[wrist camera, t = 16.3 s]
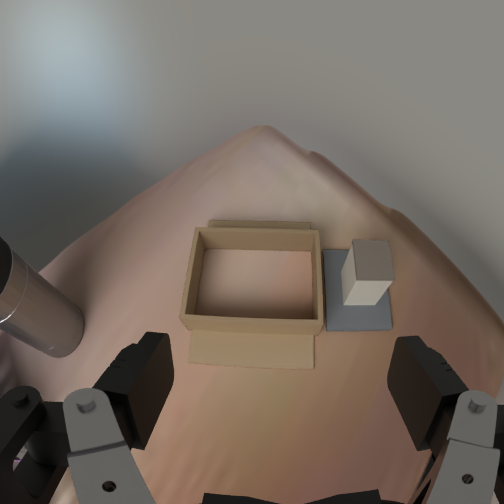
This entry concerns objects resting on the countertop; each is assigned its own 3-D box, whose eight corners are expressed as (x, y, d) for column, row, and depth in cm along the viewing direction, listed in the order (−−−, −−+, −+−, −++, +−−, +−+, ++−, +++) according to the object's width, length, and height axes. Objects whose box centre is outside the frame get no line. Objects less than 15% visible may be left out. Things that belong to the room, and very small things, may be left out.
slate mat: (326, 331, 39) (326, 329, 39) (322, 251, 45) (323, 249, 45) (390, 330, 38) (392, 328, 38) (380, 253, 45) (381, 251, 44)
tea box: (342, 305, 40) (357, 278, 33) (340, 271, 43) (352, 239, 36) (375, 305, 40) (395, 278, 33) (371, 272, 42) (388, 240, 36)
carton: (183, 362, 38) (174, 354, 34) (205, 221, 49) (200, 202, 45) (317, 369, 37) (323, 361, 33) (313, 223, 48) (317, 204, 44)
